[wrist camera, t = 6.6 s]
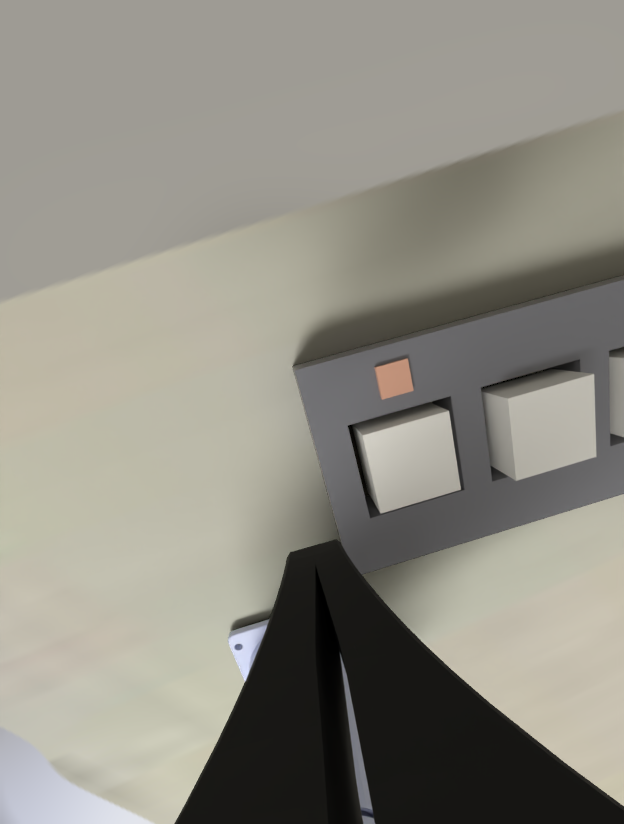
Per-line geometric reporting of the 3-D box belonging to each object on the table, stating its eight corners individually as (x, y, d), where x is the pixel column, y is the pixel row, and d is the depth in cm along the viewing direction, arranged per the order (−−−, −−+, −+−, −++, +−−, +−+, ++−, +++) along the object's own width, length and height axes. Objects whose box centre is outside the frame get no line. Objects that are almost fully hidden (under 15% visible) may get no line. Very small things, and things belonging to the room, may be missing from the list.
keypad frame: (677, 450, 21) (727, 464, 18) (343, 551, 20) (352, 580, 18) (685, 257, 18) (747, 246, 15) (292, 366, 17) (294, 370, 14)
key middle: (556, 441, 18) (596, 456, 16) (485, 462, 18) (516, 480, 16) (551, 368, 17) (594, 373, 15) (476, 390, 17) (508, 398, 15)
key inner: (438, 470, 19) (461, 489, 16) (367, 491, 19) (380, 513, 16) (426, 400, 18) (448, 410, 15) (351, 422, 17) (362, 435, 15)
